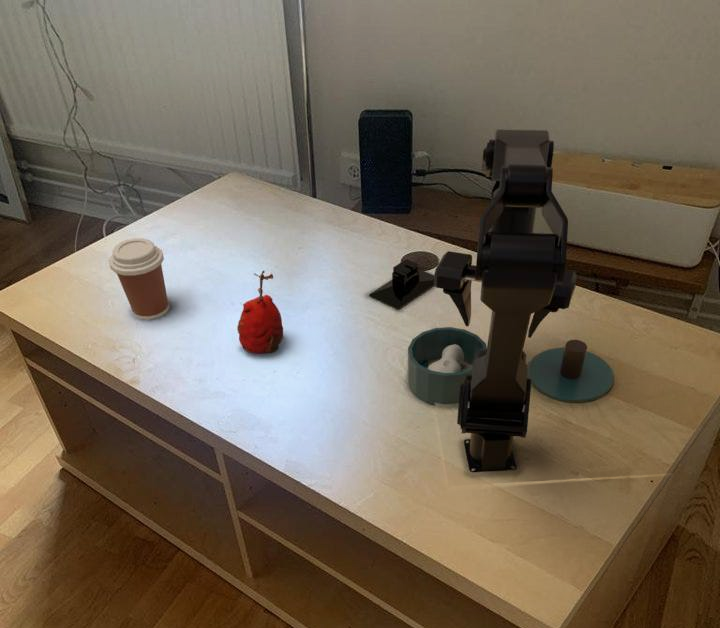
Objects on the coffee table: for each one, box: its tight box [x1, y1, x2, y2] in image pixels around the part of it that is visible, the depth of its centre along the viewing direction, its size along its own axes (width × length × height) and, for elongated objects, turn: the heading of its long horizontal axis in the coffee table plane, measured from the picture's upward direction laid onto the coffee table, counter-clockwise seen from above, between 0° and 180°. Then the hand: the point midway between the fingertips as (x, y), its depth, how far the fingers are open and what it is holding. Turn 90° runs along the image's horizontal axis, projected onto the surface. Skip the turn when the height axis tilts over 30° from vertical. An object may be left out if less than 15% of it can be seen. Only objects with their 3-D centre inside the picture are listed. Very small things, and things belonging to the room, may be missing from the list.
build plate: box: [368, 258, 436, 311], centre depth 129 cm, size 12×7×5 cm, turn 137°
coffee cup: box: [108, 237, 170, 320], centre depth 125 cm, size 9×9×12 cm
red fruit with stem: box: [236, 270, 284, 355], centre depth 115 cm, size 8×7×15 cm
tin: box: [407, 326, 487, 406], centre depth 110 cm, size 12×12×6 cm
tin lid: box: [527, 339, 614, 404], centre depth 109 cm, size 13×13×6 cm
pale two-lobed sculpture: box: [427, 344, 464, 373], centre depth 111 cm, size 4×8×5 cm
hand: (498, 330), depth 105 cm, fingers open, 9 cm apart
